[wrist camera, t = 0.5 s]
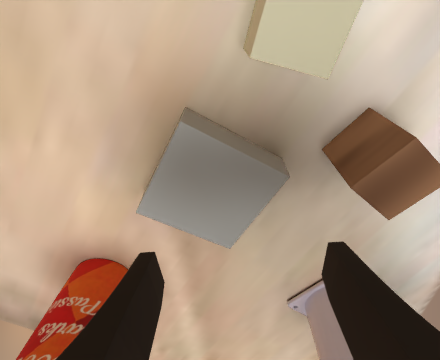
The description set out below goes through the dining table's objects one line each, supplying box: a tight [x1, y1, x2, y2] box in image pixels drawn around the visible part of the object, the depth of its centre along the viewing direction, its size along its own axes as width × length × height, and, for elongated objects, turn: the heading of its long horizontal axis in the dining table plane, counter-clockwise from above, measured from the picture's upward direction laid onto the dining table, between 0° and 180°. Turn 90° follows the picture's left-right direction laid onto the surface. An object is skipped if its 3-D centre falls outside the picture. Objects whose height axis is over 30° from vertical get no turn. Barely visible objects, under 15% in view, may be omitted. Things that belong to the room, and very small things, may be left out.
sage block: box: [243, 0, 364, 79], centre depth 13 cm, size 4×4×4 cm
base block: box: [136, 107, 290, 249], centre depth 19 cm, size 8×8×3 cm
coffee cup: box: [16, 259, 128, 360], centre depth 21 cm, size 8×8×15 cm
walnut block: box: [322, 108, 440, 220], centre depth 17 cm, size 4×4×5 cm
